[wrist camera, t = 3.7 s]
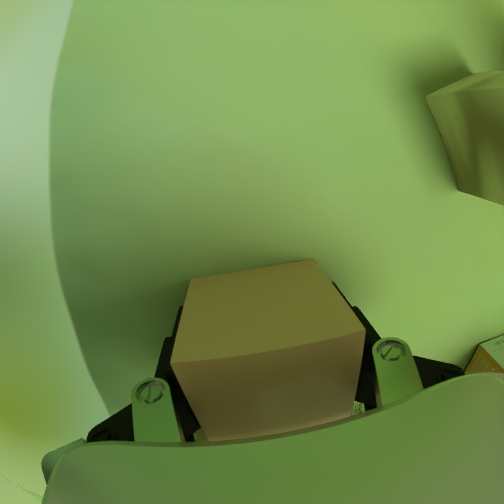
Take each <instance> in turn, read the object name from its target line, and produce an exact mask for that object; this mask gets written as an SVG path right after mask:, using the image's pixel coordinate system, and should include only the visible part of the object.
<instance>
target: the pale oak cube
mask: <svg viewBox="0 0 504 504" xmlns="http://www.w3.org/2000/svg"><path fill="white" fill-rule="evenodd" d="M424 97H425V99H426V101H427V104H428V106H429V108H430V110H431V112H432V115H433V117H434V119H435V122H436V124H437V127H438V129H439V132H440V134H441V137H442V139H443V142H444V145H445V148H446V150H447V153H448V156H449V159H450V162H451V165H452V169H453V172H454V175H455V179H456V182H457V186H458V190H459V191H460V192H464V193H467V194H471V195H474V196H477V197H480V198H483V199H486V200H489V201H492V202H495V203H498V204H501V205H504V70H499V71H490V72H482V73H475V74H471V75H469V76H467V77H464V78H462V79H460V80H458V81H456V82H454V83H451V84H449V85H447V86H445V87H443V88H441V89H439V90H437V91H435V92H433V93H431V94H428V95H426V96H424Z"/></svg>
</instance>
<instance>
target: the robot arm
mask: <svg viewBox="0 0 504 504" xmlns="http://www.w3.org/2000/svg"><path fill="white" fill-rule="evenodd" d="M332 284H333V285H334V286H335V288H336V289H337V290H338V292H339V293H340V294H341V296H342V297H343V298H344V300H345V301H346V303H347V304H348V305H349V307H350V308H351V309H352V311H353V312H354V314H355V315H356V316H357V318H358V319H359V321H360V322H361V323H362V325H363V326H364V328H365V329H366V333H365V341H364V348H363V355H362V362H361V368H360V374H359V380H358V385H357V390H356V395H355V400H354V401H358V402H361V407H362V413H360V414H357V415H353V416H350V417H347V418H343V419H340V420H336V421H332V422H328V423H325V424H321V425H316V426H312V427H308V428H303V429H298V430H293V431H288V432H283V433H277V434H271V435H265V436H258V437H250V438H241V439H232V440H220V441H203V442H198V441H197V438H196V435H195V432H196V431H197V430H198V429H200V428H201V426H200V424H199V422H198V420H197V418H196V416H195V414H194V412H193V411H192V409H191V407H190V405H189V403H188V401H187V399H186V397H185V394H184V392H183V390H182V388H181V386H180V384H179V382H178V380H177V378H176V375H175V373H174V371H173V369H172V366H171V364H170V361H171V357H172V352H173V348H174V344H175V339H176V335H177V331H178V327H179V323H180V319H181V315H182V311H183V307H184V306H180V307H179V311H178V314H177V318H176V322H175V326H174V329H173V333H172V337H166V338H165V340H164V343H163V347H162V351H161V354H160V358H159V361H158V365H157V369H156V373H155V377H154V378H148V379H145V380H142V381H141V382H139V383H138V384H137V385H136V386H135V387H134V389H133V391H132V403H131V404H130V405H128V406H127V407H125V408H124V409H122V410H120V411H119V412H117V413H116V414H114V415H113V416H111V417H109V418H108V419H106V420H105V421H103V422H101V423H100V424H98V425H97V426H95V427H94V428H92V430H91V431H90V432H89V433H88V436H87V439H86V440H84V439H83V438H81V439H78V440H76V441H74V442H72V443H70V444H67V445H65V446H63V447H61V448H58V449H56V450H54V451H52V452H49V453H47V454H46V455H45V456H44V457H43V459H42V463H41V465H42V471H43V474H44V478H45V480H46V484H47V487H46V490H45V494H44V497H43V500H42V504H504V373H493V372H479V371H467V373H464V371H463V370H462V369H461V368H460V367H458V366H456V365H453V364H449V363H444V362H440V361H435V360H431V359H426V358H422V357H418V356H413V355H412V353H411V350H410V347H409V346H408V344H407V343H406V342H404V341H403V340H401V339H398V338H394V337H387V338H383V339H381V338H380V336H379V335H378V334H377V332H376V331H375V329H374V328H373V327H372V325H371V324H370V323H369V321H368V320H367V319H366V317H365V316H364V315H363V313H362V312H361V311H360V309H359V308H358V307H357V306H353V307H352V306H351V305H350V303H349V302H348V301H347V299H346V298H345V296H344V295H343V294H342V292H341V291H340V290H339V288H338V287H337V286H336V285H335V283H334V282H332Z"/></svg>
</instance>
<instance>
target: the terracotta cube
mask: <svg viewBox="0 0 504 504" xmlns="http://www.w3.org/2000/svg"><path fill="white" fill-rule="evenodd" d="M365 333H366V329H365V328H364V326H363V325H362V323H361V322H360V321H359V319H358V318H357V316H356V315H355V314H354V312H353V311H352V309H351V308H350V307H349V305H348V304H347V303H346V301H345V300H344V298H343V297H342V296H341V294H340V293H339V292H338V290H337V289H336V288H335V286H334V285H333V284H332V282H331V281H330V280H329V278H328V277H327V276H326V274H325V273H324V272H323V270H322V269H321V268H320V266H319V265H318V264H317V262H316V261H315V260H314V259H308V260H302V261H296V262H290V263H284V264H278V265H272V266H266V267H260V268H254V269H248V270H241V271H235V272H229V273H222V274H216V275H209V276H203V277H196V278H191V280H190V284H189V288H188V291H187V295H186V299H185V303H184V307H183V311H182V315H181V319H180V323H179V327H178V331H177V335H176V339H175V344H174V348H173V352H172V357H171V361H170V364H171V366H172V369H173V371H174V373H175V375H176V378H177V380H178V382H179V384H180V386H181V388H182V390H183V392H184V394H185V397H186V399H187V401H188V403H189V405H190V407H191V409H192V411H193V412H194V414H195V416H196V418H197V420H198V422H199V424H200V426H201V428H202V429H203V431H204V433H205V435H206V437H207V438H208V440H209V441H220V440H232V439H241V438H250V437H258V436H265V435H271V434H277V433H283V432H288V431H293V430H298V429H303V428H308V427H312V426H316V425H321V424H325V423H328V422H332V421H336V420H340V419H343V418H347V417H350V416H351V414H352V410H353V405H354V400H355V395H356V390H357V385H358V380H359V374H360V368H361V362H362V355H363V348H364V341H365Z"/></svg>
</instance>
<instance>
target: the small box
mask: <svg viewBox="0 0 504 504" xmlns="http://www.w3.org/2000/svg"><path fill="white" fill-rule="evenodd" d="M467 371H479V372H493V373H504V335H502V336H499V337H497V338H494V339H492V340H489V341H487V342H484V343H481V344H479V346H478V348H477V350H476V352H475V354H474V356H473V358H472V360H471V361H470V363H469V365H468V367H467V368H466V370H465V372H464V373H467Z"/></svg>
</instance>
